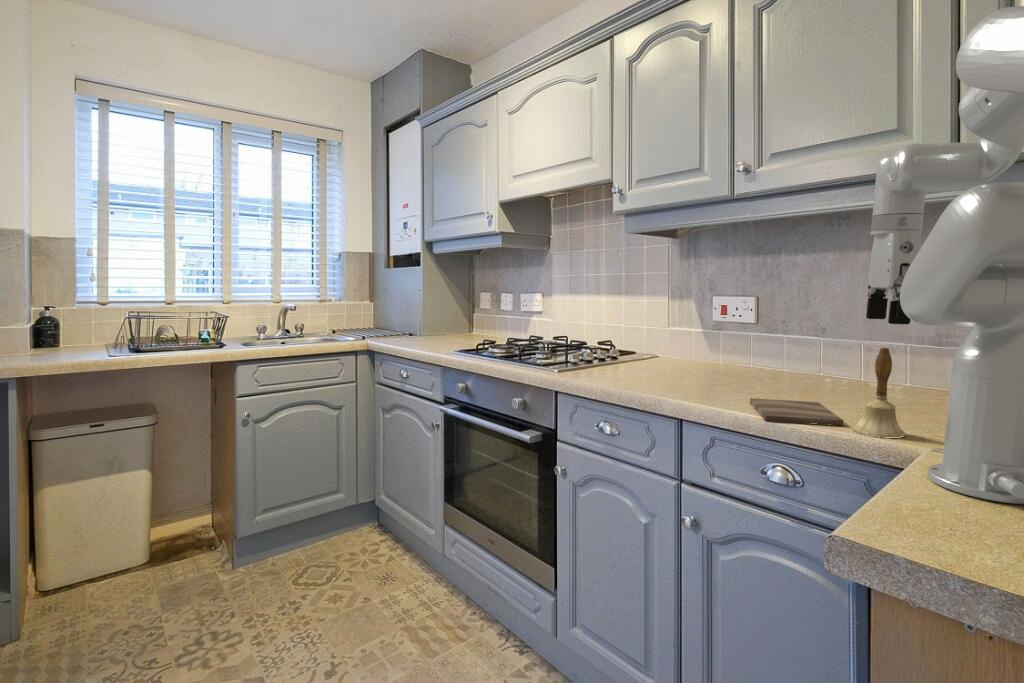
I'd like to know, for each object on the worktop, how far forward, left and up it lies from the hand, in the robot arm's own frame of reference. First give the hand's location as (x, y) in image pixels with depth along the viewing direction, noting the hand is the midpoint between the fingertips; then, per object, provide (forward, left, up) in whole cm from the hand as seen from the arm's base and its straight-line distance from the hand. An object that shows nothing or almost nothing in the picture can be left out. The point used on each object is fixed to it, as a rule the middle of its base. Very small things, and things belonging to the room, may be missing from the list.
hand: (886, 321), depth 100 cm
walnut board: (+11, +12, -21) cm, 26 cm away
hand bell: (0, 0, -21) cm, 21 cm away
